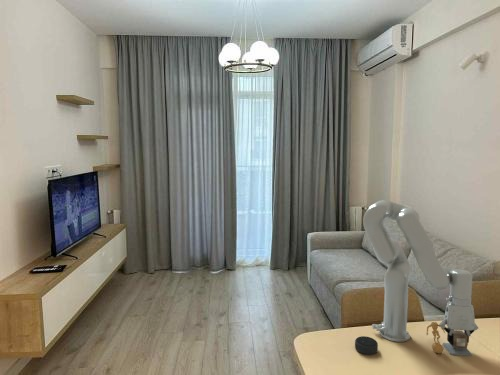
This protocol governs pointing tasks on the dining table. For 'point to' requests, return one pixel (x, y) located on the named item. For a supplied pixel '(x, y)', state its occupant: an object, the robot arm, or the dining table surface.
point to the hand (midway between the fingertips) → (457, 343)
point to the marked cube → (459, 339)
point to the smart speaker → (366, 345)
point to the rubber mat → (456, 350)
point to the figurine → (436, 346)
